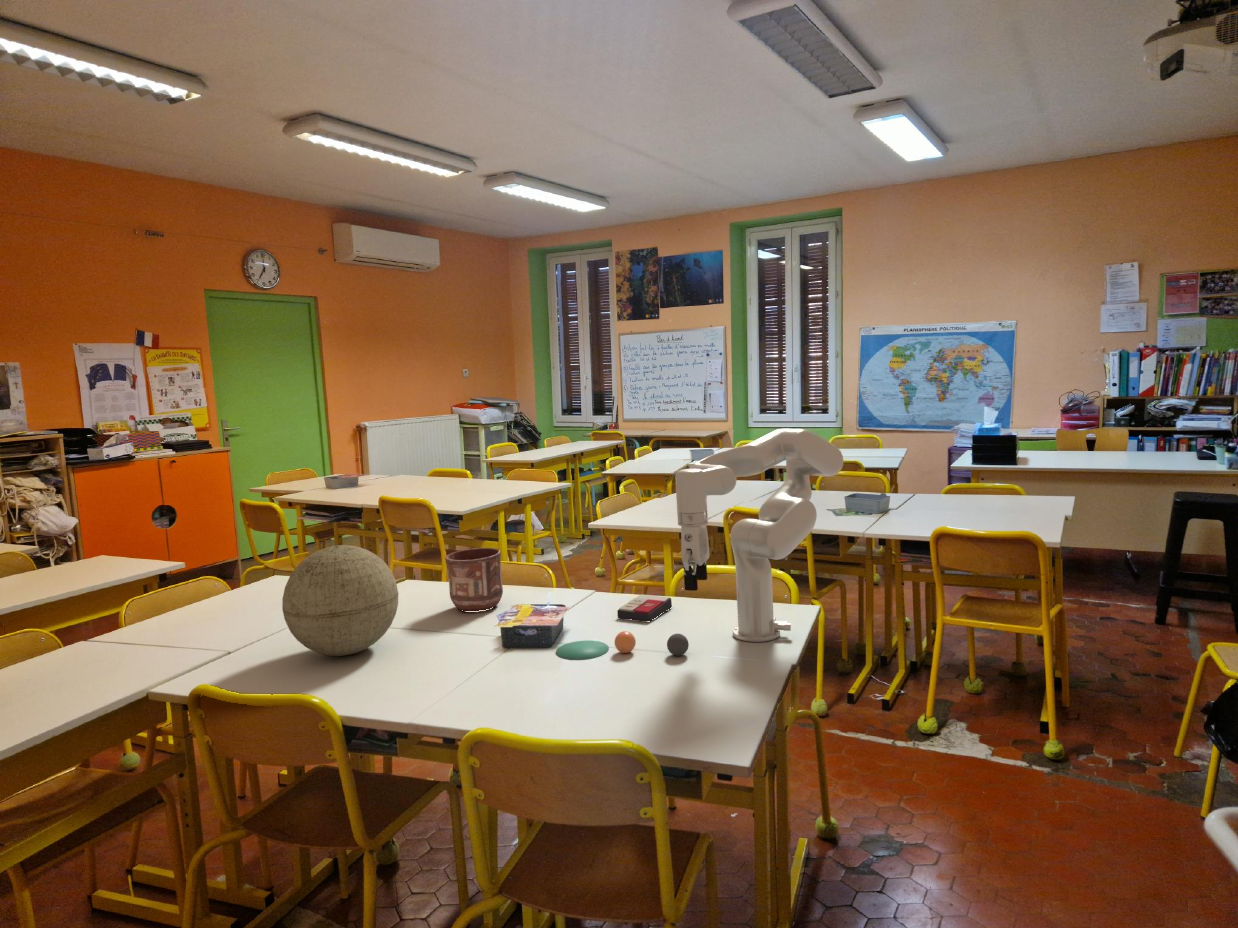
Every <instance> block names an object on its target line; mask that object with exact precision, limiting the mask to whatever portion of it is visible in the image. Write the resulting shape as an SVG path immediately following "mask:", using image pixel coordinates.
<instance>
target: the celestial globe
mask: <svg viewBox="0 0 1238 928" xmlns="http://www.w3.org/2000/svg"><path fill="white" fill-rule="evenodd" d="M281 602H282V603H281V604H282V607H281V608H282V613H283V619H284V621H285V623H286V625H287V627H288V630H289V631H290V633H291V635H292V636H293V637H294V638H295V640H296V641H298V642H299V643H300V644H301V645H303V646H304V647H305V648H307V649H308V650H310V651H313V652H315V653H317V654H320V655H324V656H330V657H342V656H343V657H344V656H349V655H353V654H358V653H360V652H363V651H365V650H366V649H368V648H369V647H371V646H373V645H374V644H375V643H377V642H379V640H380V639H382V637H383V636H384V635H386V634H387V632H388V630H389V629H390V627H391V625H392V623H393V622H394V619H395V618H396V615H397V611H398V606H399V590H398V585H397V580H396V578H395V576H394V573H393V571H392V570H391V569H390V567H389V565H388V564H387V563H386V562H385V561H384V560H383V559H382V558H381V557H380V556H378V555H377V554H375V553H374V552H372V551H370V550H368V549H365V548H362V547H359V546H357V545H346V544H339V545H338V544H337V545H331V546H327V547H325V548H322V549H319V550H317V551H315V552H312V554H310V555H309V556H307V557H306V558H304V559H303V560H301V562H300V563H298V565H297V566H296V567H295V568H294V570H293V571H292V572H291V574H290V575H289V578H288V579H287V581H286V584H285V587H284V589H283V595H282V601H281Z"/></svg>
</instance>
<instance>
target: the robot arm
mask: <svg viewBox="0 0 1238 928" xmlns="http://www.w3.org/2000/svg"><path fill="white" fill-rule="evenodd" d="M841 451H842V450H840V449H839V448H838V447H837V446H836V445H834V444H833V443H831V442H830V441H828V440H826V439H825V438H824V437H822V436H820V435H818V434H817V433H814V432H813V431H810V430H808V429H805V428H777V429H775V430H773V431H770V432H768V433H766V434H765V435H763V436H761V437H759V438H757V439H754V440H752V441H750V442H749V443H746V444H744V445H740V446H737V447H733V448H731V449H728V450H725V451H721V452H717V453H714V454H712V455H709V456H706V457H704V458H702V459H700V460H698V461H697V462H694V463H693V464H692V465H691V466H690V467H689V468H684V469H683V468H682V469H679V470H677V472H676V473H675V478H674V479H675V494H676V498H675V499H676V513H677V525H678V526H680V527H681V528H680V531H681V532H680V543H681V545H680V546H681V547H680V548H681V551H680V553H681V561H682V564H683V567H682V568H683V583H684V590H685V591H688V592H689V591H691V592H693V591H694V592H696V591H698V589H699V588H698V586H699V585H698V581H707V580H708V568H707V561H708V560H709V558H710V555H711V554H710V543H709V535H708V534H709V533H708V528H707V527H708V526H707V525H708V524H709V520H708V519H709V517H708V516H709V515H708V501H707V500H708V496H724V495H727V494H729V493H731V492H732V491H733V490H734V489H735V487H736V485H737V478H738V477H740V478H741V477H744V478H745V477H751V476H756V475H759V474H761V473H764V472H765V471H767V470H769V469H771V468H773V467H775V466H777V465H780V464H781V463H783V462H784V461H786V462H785V466H786V469H785V470H786V473H785V475H786V476H785V480H784V482H783V483H782V484H781V486H780V487H779V488H777V490H776V491H774V493H773V494H772V495H770V497H769V498H767V499H766V500H765V501H764V502H763V503H762V504H761V506H760V508H759V510H758V519H756V518H743V519H740V520H738V521H736V522H735V524H733V526H732V528H731V530H730V538H729V539H730V545H731V549H732V552H733V553H732V554H733V557H734V565H735V582H736V584H735V585H736V586H735V587H736V605H737V608H736V609H737V626H735V627H734V628H733V629H732V635H733V637H734V638H735V639H737V640H740V641H744V642H749V643H750V642H752V643H759V642H760V643H761V642H769V641H773V640H776V639H778V638H779V637H780V635H781V631H784V632H786V631H787V632H791V631H792V624H791V623H789V622H788V621H784V620H783V621H781V620H780V621H779V620H778V619H776V618H777V617H776V615H774V598H773V596H774V594H773V571H772V565H771V562H770V560H782V559H784V558H786V557H788V556H789V555H790V554H791V553H792V552H794V550H795V549H796V548H797V547H798V546H799V545H800V544H801V543H802V542H803V540H805V538H806V537H808V535H809V534H810V533H811V532H812V531H813V529H814V527H815V525H816V522H817V518H818V517H817V514H818V513H817V509H816V508H817V507H815V505H814V503H813V502H812V501H810V500H811V498H812V496H813V495H812V487H811V481H810V480H811V479H810V476H815V477H817V476H818V477H834V476H837V474H840V472H841V470H842V469H843V467H844V455H843V454H842V452H841Z"/></svg>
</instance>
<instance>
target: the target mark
mask: <svg viewBox="0 0 1238 928" xmlns="http://www.w3.org/2000/svg"><path fill="white" fill-rule="evenodd" d="M609 649H610V647H609V645H608V644H607V643H604V642H602V641H599V640H576V641H571V642H568V643H565V644H562V645H560V646H559V647H557V648H556V650H555V653H556V656H558V657H560V658H562V659H564V660H570V661H571V660H572V661H573V660H575V661H581V660H591V659H596V658H598V657H601V656H603V655H606V653H608V651H609Z"/></svg>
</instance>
